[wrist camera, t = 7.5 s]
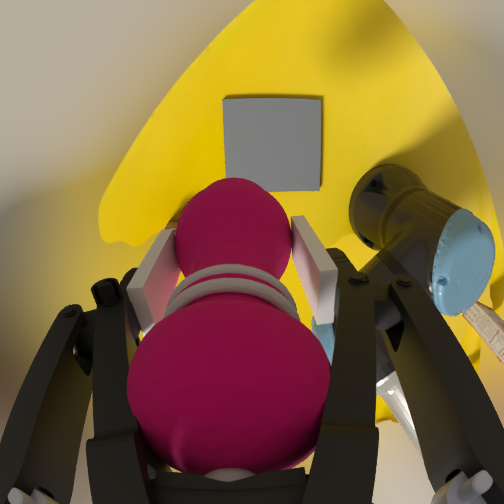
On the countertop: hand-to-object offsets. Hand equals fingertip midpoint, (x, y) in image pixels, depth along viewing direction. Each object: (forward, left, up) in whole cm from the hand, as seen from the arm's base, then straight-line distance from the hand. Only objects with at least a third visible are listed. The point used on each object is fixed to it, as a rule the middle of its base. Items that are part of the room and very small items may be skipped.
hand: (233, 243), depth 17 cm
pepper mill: (0, 0, -5) cm, 5 cm away
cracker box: (-66, +37, -27) cm, 80 cm away
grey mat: (-6, -3, -27) cm, 27 cm away
